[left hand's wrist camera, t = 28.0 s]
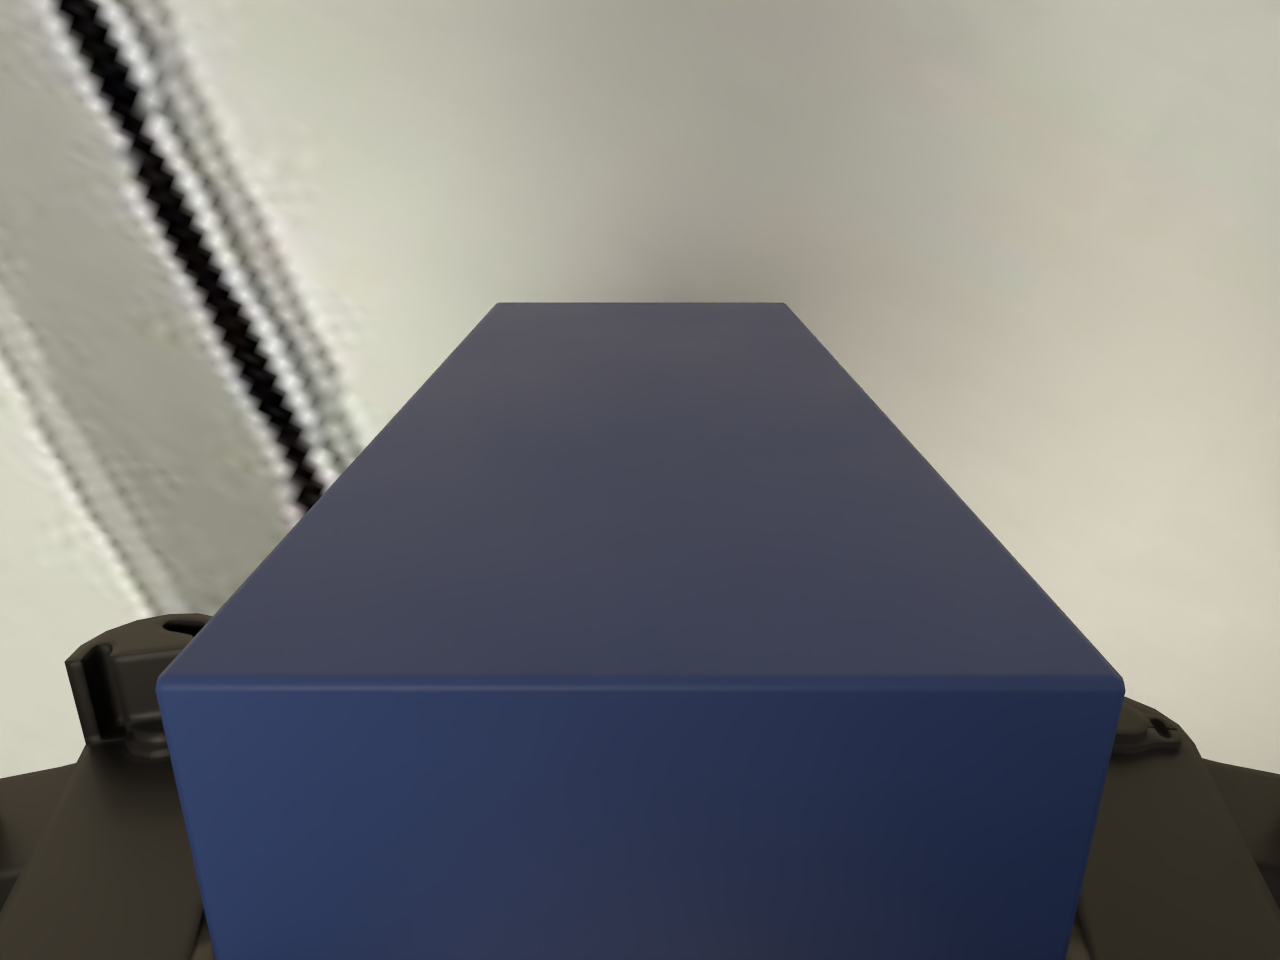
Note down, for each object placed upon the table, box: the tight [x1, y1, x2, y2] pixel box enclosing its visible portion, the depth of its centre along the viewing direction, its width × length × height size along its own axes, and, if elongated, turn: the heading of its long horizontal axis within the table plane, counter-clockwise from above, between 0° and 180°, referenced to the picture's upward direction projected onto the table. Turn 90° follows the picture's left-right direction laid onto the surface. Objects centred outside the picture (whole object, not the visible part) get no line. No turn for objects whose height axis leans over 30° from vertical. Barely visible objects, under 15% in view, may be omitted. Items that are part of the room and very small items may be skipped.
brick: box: [155, 303, 1125, 960], centre depth 11 cm, size 5×6×12 cm
